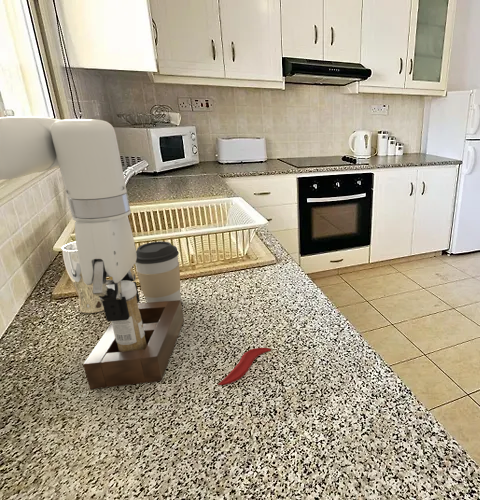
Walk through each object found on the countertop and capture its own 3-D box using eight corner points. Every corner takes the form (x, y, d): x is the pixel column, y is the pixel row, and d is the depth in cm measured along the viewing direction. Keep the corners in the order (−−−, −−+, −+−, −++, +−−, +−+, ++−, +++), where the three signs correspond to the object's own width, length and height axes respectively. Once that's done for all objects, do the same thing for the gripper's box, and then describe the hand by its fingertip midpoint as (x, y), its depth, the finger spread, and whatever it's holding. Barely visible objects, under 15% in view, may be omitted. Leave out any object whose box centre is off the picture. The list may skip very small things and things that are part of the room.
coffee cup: (133, 310, 84) (120, 248, 78) (166, 293, 92) (155, 235, 86) (164, 319, 81) (152, 255, 75) (194, 300, 88) (186, 241, 83)
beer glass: (120, 304, 86) (106, 244, 80) (87, 318, 80) (69, 253, 75) (104, 296, 89) (90, 237, 84) (71, 308, 84) (54, 246, 78)
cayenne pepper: (264, 345, 73) (263, 336, 72) (279, 355, 70) (278, 346, 69) (207, 376, 64) (206, 367, 64) (222, 388, 62) (221, 379, 61)
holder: (89, 389, 61) (82, 364, 59) (128, 325, 78) (124, 304, 76) (162, 381, 63) (157, 356, 61) (184, 320, 81) (180, 299, 79)
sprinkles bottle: (154, 348, 68) (141, 281, 63) (134, 363, 63) (119, 293, 58) (133, 343, 69) (118, 277, 64) (112, 358, 64) (95, 289, 60)
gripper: (96, 194, 63) (117, 290, 70) (41, 223, 48) (76, 343, 54) (144, 193, 65) (160, 287, 71) (106, 221, 49) (132, 337, 56)
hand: (124, 310), depth 63 cm, fingers closed on sprinkles bottle, 4 cm apart
